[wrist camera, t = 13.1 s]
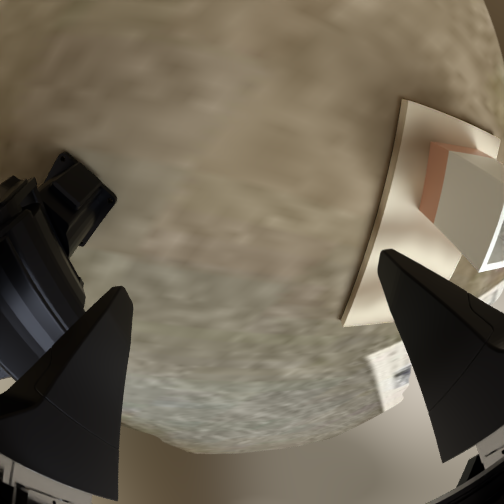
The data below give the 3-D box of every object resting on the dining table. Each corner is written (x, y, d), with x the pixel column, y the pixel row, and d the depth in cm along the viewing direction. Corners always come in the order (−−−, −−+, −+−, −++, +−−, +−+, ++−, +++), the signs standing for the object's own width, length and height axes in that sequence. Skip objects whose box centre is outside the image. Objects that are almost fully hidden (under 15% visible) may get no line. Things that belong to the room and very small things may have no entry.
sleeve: (464, 209, 22) (520, 262, 15) (418, 209, 22) (478, 272, 14) (477, 149, 18) (546, 192, 11) (430, 141, 18) (508, 186, 11)
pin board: (425, 311, 32) (438, 333, 29) (340, 320, 31) (350, 347, 27) (494, 136, 18) (520, 149, 15) (401, 98, 17) (431, 106, 14)
